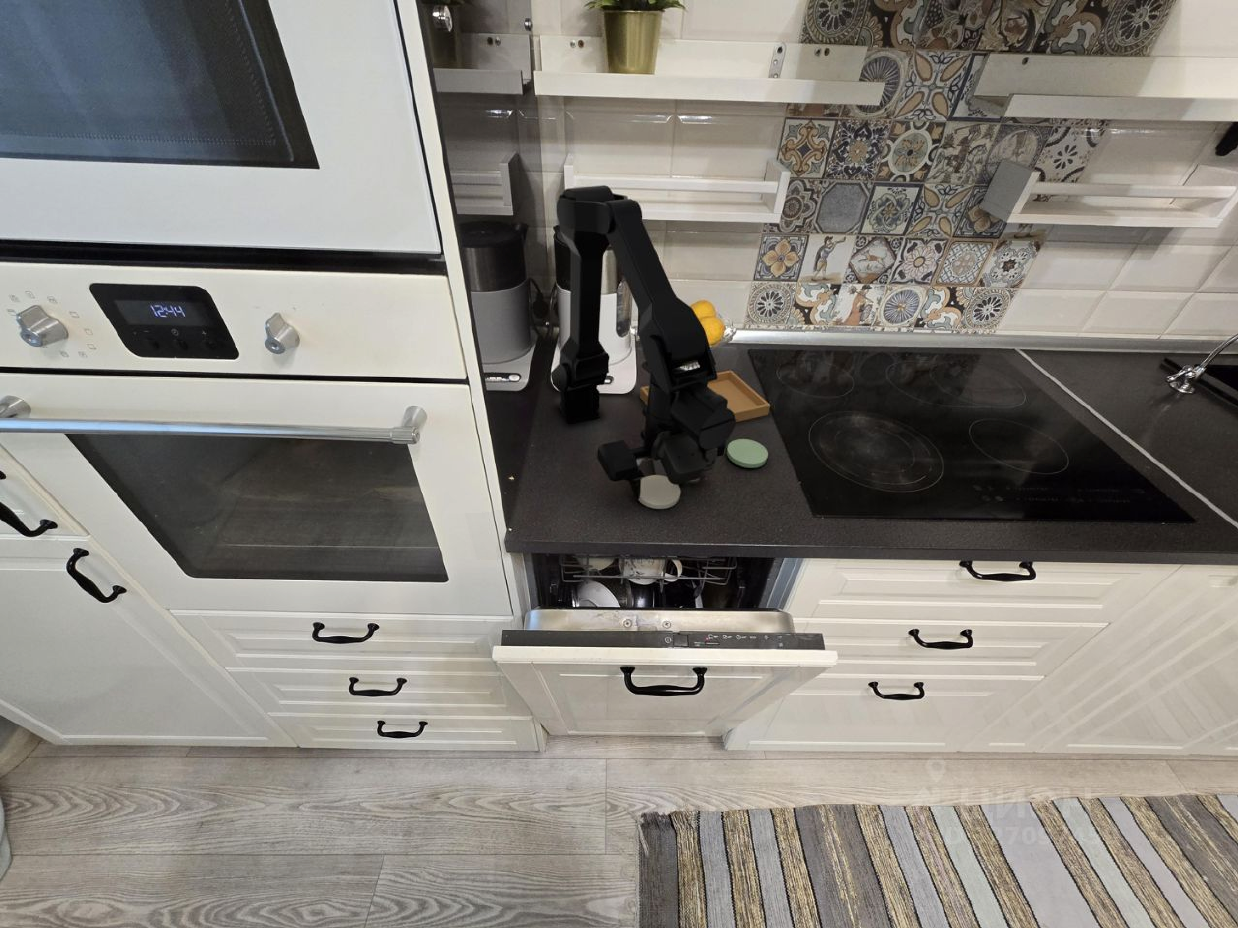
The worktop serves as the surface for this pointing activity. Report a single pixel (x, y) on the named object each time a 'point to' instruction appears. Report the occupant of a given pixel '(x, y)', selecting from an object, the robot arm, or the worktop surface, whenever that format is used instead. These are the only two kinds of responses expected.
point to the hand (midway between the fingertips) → (657, 491)
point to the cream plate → (658, 492)
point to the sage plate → (747, 453)
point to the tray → (732, 396)
